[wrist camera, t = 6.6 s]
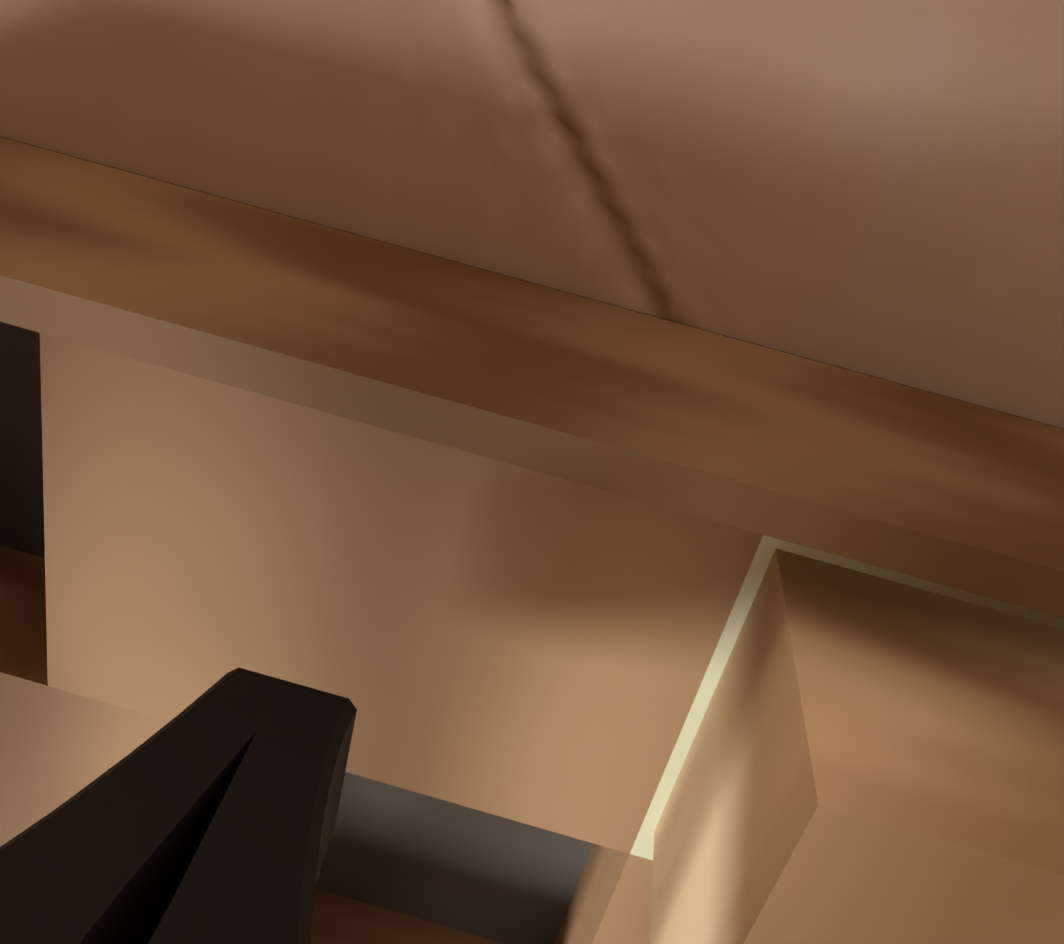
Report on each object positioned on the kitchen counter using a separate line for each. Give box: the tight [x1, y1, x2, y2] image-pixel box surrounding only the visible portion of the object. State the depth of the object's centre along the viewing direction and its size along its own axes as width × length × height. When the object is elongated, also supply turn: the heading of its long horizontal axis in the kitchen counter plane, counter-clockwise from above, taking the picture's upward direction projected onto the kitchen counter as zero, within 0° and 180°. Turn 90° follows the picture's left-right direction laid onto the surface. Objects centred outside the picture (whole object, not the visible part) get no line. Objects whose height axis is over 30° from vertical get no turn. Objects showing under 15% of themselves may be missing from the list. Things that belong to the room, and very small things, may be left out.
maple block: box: [650, 548, 1064, 944], centre depth 10 cm, size 5×5×4 cm
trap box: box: [0, 137, 1064, 944], centre depth 14 cm, size 20×14×5 cm
